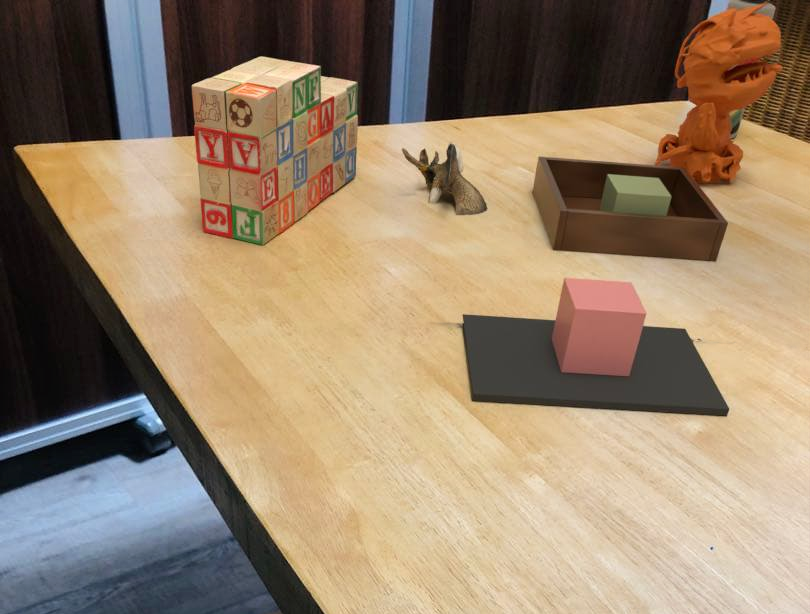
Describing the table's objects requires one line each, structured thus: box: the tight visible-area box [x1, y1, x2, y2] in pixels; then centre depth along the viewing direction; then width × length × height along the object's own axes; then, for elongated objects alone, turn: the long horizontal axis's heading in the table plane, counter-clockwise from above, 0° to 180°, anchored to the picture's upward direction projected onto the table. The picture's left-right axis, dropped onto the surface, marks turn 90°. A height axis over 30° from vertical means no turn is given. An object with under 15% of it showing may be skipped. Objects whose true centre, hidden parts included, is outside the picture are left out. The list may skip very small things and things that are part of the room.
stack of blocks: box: [191, 56, 359, 246], centre depth 81 cm, size 21×6×12 cm, turn 160°
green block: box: [599, 174, 672, 216], centre depth 81 cm, size 5×5×5 cm
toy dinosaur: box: [653, 2, 784, 184], centre depth 95 cm, size 11×11×18 cm
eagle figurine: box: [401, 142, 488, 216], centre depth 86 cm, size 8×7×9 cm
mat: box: [461, 313, 730, 417], centre depth 64 cm, size 18×12×1 cm, turn 91°
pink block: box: [552, 277, 647, 377], centre depth 62 cm, size 5×5×5 cm
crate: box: [532, 155, 729, 263], centre depth 85 cm, size 15×15×4 cm
